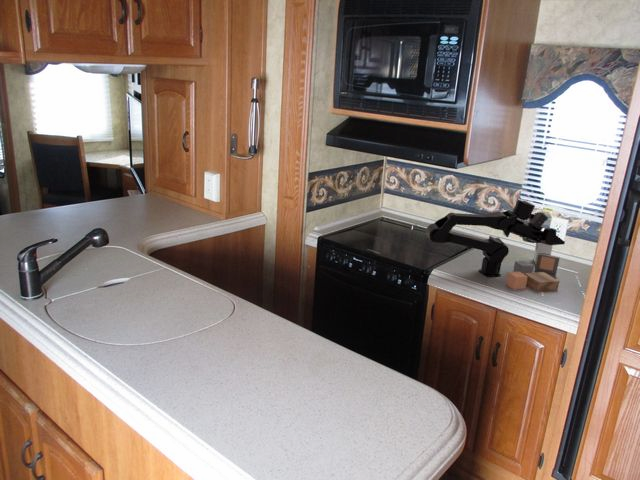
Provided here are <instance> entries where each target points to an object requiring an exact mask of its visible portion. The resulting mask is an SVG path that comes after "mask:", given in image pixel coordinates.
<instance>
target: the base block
mask: <svg viewBox="0 0 640 480" xmlns="http://www.w3.org/2000/svg"><path fill="white" fill-rule="evenodd" d="M524 275H526V276H527V283H526V286H528V287H529V288H531V289H532V290H534V291H535V292H537V293H538V292H551V291H558V289H559V285H560V280H558V279H557V278H553V277H551V276H550V275H548V274H546V273H545V272H536V273H534V272H532V273H524Z"/></svg>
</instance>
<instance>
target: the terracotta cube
mask: <svg viewBox="0 0 640 480" xmlns="http://www.w3.org/2000/svg"><path fill="white" fill-rule="evenodd" d="M526 283H527V276H526V275H524V274H523V273H521V272H513V271H508V272H507V277H506V283H505V284H506V286H508V287H509V288H510V289H512V290H526V287H527V285H526Z"/></svg>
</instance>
